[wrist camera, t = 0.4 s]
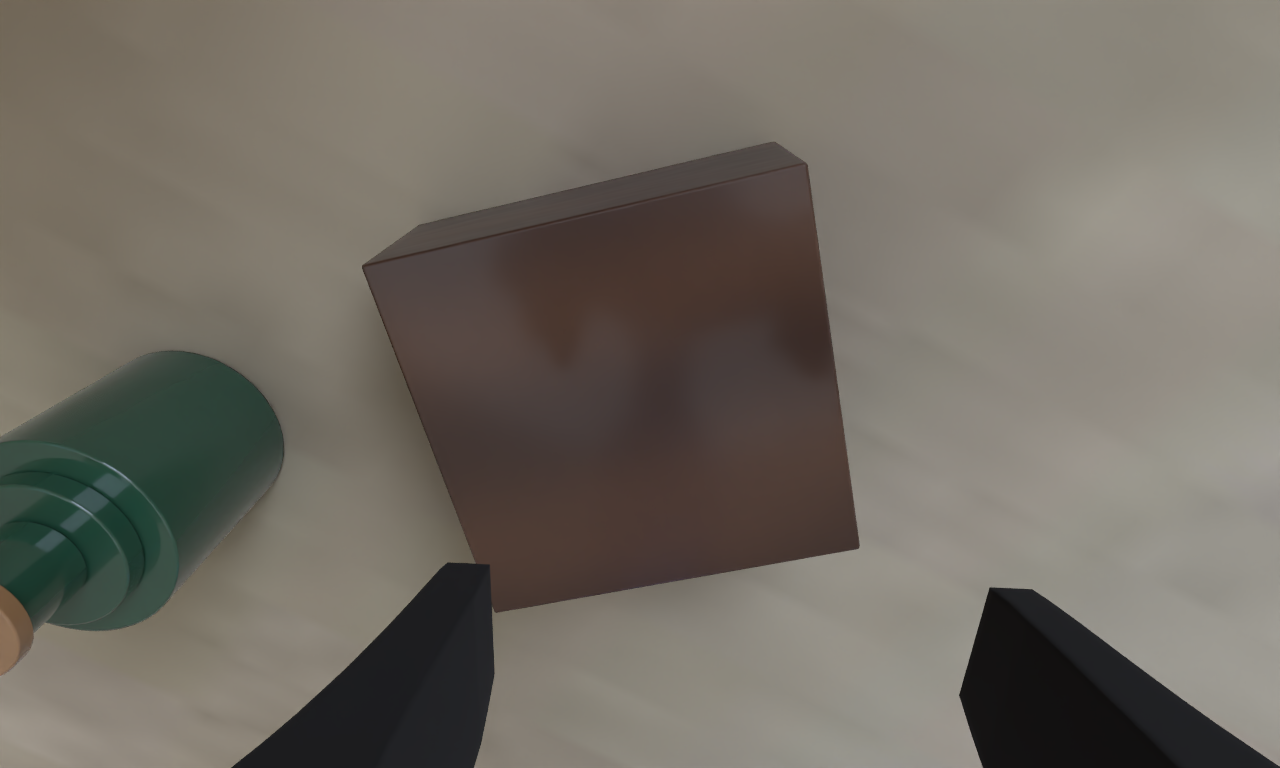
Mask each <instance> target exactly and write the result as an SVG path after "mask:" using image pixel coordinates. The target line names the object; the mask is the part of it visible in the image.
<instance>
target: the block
mask: <svg viewBox="0 0 1280 768" xmlns="http://www.w3.org/2000/svg"><path fill="white" fill-rule="evenodd" d="M362 269H363V272H364V274H365V277H366V279H367V282H368V285H369V287H370V290H371V292H372V295H373V297H374V300H375V303H376V305H377V308H378V310H379V313H380V316H381V318H382V321H383V323H384V326H385V329H386V331H387V334H388V336H389V339H390V342H391V344H392V347H393V349H394V352H395V355H396V357H397V360H398V362H399V365H400V368H401V370H402V373H403V375H404V378H405V381H406V383H407V386H408V388H409V391H410V393H411V396H412V399H413V401H414V404H415V406H416V409H417V412H418V414H419V417H420V419H421V422H422V425H423V427H424V430H425V432H426V435H427V438H428V440H429V443H430V445H431V448H432V451H433V453H434V456H435V458H436V461H437V464H438V466H439V469H440V471H441V474H442V477H443V479H444V482H445V484H446V487H447V489H448V492H449V495H450V497H451V500H452V502H453V505H454V508H455V510H456V513H457V515H458V518H459V521H460V523H461V526H462V528H463V531H464V534H465V536H466V539H467V541H468V544H469V547H470V549H471V552H472V554H473V557H474V560H475V562H476V564H490V578H491V602H492V606H493V609H494V611H495V612H496V613H498V612H503V611H509V610H515V609H520V608H526V607H532V606H537V605H543V604H549V603H554V602H560V601H566V600H571V599H577V598H583V597H588V596H594V595H600V594H605V593H611V592H617V591H622V590H628V589H634V588H639V587H645V586H650V585H656V584H662V583H667V582H673V581H679V580H684V579H690V578H696V577H701V576H707V575H713V574H718V573H724V572H730V571H735V570H741V569H747V568H752V567H758V566H764V565H769V564H775V563H781V562H786V561H792V560H798V559H803V558H809V557H815V556H820V555H826V554H832V553H837V552H843V551H849V550H854V549H858V548H859V546H860V544H859V537H858V530H857V522H856V515H855V508H854V501H853V493H852V486H851V479H850V471H849V464H848V457H847V449H846V442H845V435H844V428H843V420H842V413H841V406H840V398H839V391H838V384H837V376H836V369H835V362H834V355H833V347H832V340H831V333H830V325H829V318H828V311H827V303H826V296H825V289H824V282H823V274H822V267H821V260H820V252H819V245H818V238H817V230H816V223H815V216H814V208H813V201H812V194H811V187H810V179H809V172H808V165H807V164H806V163H805V162H804V161H802V160H801V159H800V158H798V157H797V156H795V155H794V154H792V153H791V152H789V151H788V150H786V149H785V148H783V147H782V146H780V145H779V144H777V143H776V142H770V143H766V144H761V145H757V146H753V147H749V148H744V149H740V150H736V151H732V152H727V153H723V154H719V155H715V156H710V157H706V158H702V159H698V160H693V161H689V162H685V163H680V164H676V165H672V166H668V167H663V168H659V169H655V170H651V171H646V172H642V173H638V174H634V175H629V176H625V177H621V178H617V179H612V180H608V181H604V182H600V183H595V184H591V185H587V186H583V187H578V188H574V189H570V190H566V191H561V192H557V193H553V194H549V195H544V196H540V197H536V198H532V199H527V200H523V201H519V202H515V203H510V204H506V205H502V206H498V207H493V208H489V209H485V210H481V211H476V212H472V213H468V214H464V215H459V216H455V217H451V218H447V219H442V220H438V221H434V222H430V223H425V224H421V225H418V226H417V227H416V228H414V229H413V230H411V231H410V232H409V233H407V234H406V235H404V236H403V237H402V238H400V239H399V240H397V241H396V242H395V243H393V244H392V245H390V246H389V247H388V248H386V249H385V250H383V251H382V252H381V253H379V254H378V255H376V256H375V257H374V258H372V259H371V260H369V261H368V262H367V263H365V264H364V265H362Z"/></svg>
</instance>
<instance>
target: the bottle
mask: <svg viewBox="0 0 1280 768" xmlns="http://www.w3.org/2000/svg"><path fill="white" fill-rule="evenodd" d="M282 460H283V437H282V432H281V428H280V425H279V422H278V420H277V418H276V415H275V413H274V411H273V410H272V408H271V406H270V405H269V403H268V402H267V400H266V399H265V398H264V396H263V395H262V394H261V393H260V392H259V390H258V389H257V388H256V387H255V386H254V385H253V384H252V383H251V382H249V381H248V380H247V379H246V378H245V377H243V376H242V375H241V374H239V373H238V372H236V371H235V370H233V369H232V368H230V367H228V366H226V365H224V364H223V363H221V362H218V361H216V360H214V359H211V358H209V357H205V356H202V355H199V354H195V353H189V352H182V351H161V352H155V353H150V354H146V355H143V356H140V357H138V358H136V359H134V360H132V361H130V362H128V363H127V364H125V365H123V366H121V367H120V368H118V369H116V370H115V371H113V372H111V373H109V374H108V375H106V376H104V377H102V378H101V379H99V380H97V381H96V382H94V383H92V384H90V385H89V386H87V387H85V388H83V389H82V390H80V391H78V392H77V393H75V394H73V395H71V396H70V397H68V398H66V399H65V400H63V401H61V402H59V403H58V404H56V405H54V406H52V407H51V408H49V409H47V410H46V411H44V412H42V413H40V414H39V415H37V416H35V417H33V418H32V419H30V420H28V421H27V422H25V423H23V424H21V425H20V426H18V427H16V428H15V429H13V430H11V431H9V432H8V433H6V434H4V435H2V436H1V437H0V676H1V675H3V674H5V673H7V672H8V671H10V670H11V669H12V668H13V667H14V666H15V665H16V664H17V663H18V662H19V661H20V660H21V659H22V658H23V657H25V656H26V655H27V653H28V652H29V650H30V648H31V646H32V643H33V639H34V633H35V632H36V631H37V630H38V629H39V628H40V627H41V626H42V625H43V624H44V623H50V624H53V625H57V626H61V627H65V628H70V629H76V630H85V631H108V630H115V629H121V628H125V627H128V626H132V625H135V624H137V623H139V622H141V621H144V620H146V619H148V618H149V617H151V616H152V615H154V614H155V613H157V612H158V611H159V610H160V609H161V608H162V607H163V606H164V605H165V604H166V603H167V602H168V601H169V600H170V598H171V597H172V596H173V595H174V594H175V593H176V592H177V591H178V589H179V588H180V587H181V586H182V585H183V584H184V583H185V582H186V580H187V579H188V578H189V577H190V576H191V575H192V574H193V573H194V572H195V570H196V569H197V568H198V567H199V566H200V565H201V564H202V563H203V561H204V560H205V559H206V558H207V557H208V556H209V555H210V554H211V552H212V551H213V550H214V549H215V548H216V547H217V546H218V545H219V543H220V542H221V541H222V540H223V539H224V538H225V537H226V536H227V535H228V533H229V532H230V531H231V530H232V529H233V528H234V527H235V526H236V524H237V523H238V522H239V521H240V520H241V519H242V518H243V517H244V515H245V514H246V513H247V512H248V511H249V510H250V509H251V508H252V507H253V505H254V504H255V503H256V502H257V501H258V500H259V499H260V498H261V496H262V495H263V494H264V493H265V492H266V491H267V490H268V489H269V487H270V486H271V485H272V483H273V482H274V481H275V479H276V477H277V475H278V473H279V471H280V468H281V465H282Z"/></svg>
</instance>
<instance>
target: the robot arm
mask: <svg viewBox="0 0 1280 768" xmlns="http://www.w3.org/2000/svg"><path fill="white" fill-rule="evenodd" d="M493 679H494V650H493V626H492V602H491V578H490V564H469V563H447V564H445V565H444V566H443V567H442V568H441V569H440V570H439V571H438V572H437V573H436V574H435V575H434V576H433V577H432V579H431V580H430V581H429V582H428V583H427V584H426V585H425V586H424V587H423V589H422V590H421V591H420V592H419V593H418V594H417V595H416V596H415V597H414V599H413V600H412V601H411V602H410V603H409V604H408V605H407V606H406V607H405V608H404V609H403V610H402V611H401V613H400V614H399V615H398V616H397V617H396V618H395V619H394V620H393V621H392V622H391V623H390V624H389V625H388V626H387V627H386V628H385V629H384V631H383V632H382V633H381V634H380V635H379V636H378V637H377V638H376V639H375V640H374V641H373V642H372V643H371V644H370V645H369V646H368V647H367V648H366V649H365V650H364V651H363V652H362V653H361V654H360V655H359V656H358V657H357V658H356V659H355V660H354V661H353V662H352V663H351V664H350V665H349V666H348V667H347V668H346V669H345V670H344V671H343V672H342V673H340V674H339V675H338V676H337V677H336V678H335V679H334V680H333V681H332V682H331V683H330V684H328V685H327V686H326V687H325V688H324V689H323V690H322V691H321V692H320V693H319V694H318V695H317V696H315V697H314V698H313V699H312V700H311V701H310V702H309V703H308V704H307V705H306V706H305V707H303V708H302V709H301V710H300V711H299V712H298V713H297V714H296V715H295V716H293V717H292V718H291V719H290V720H289V721H288V722H286V723H285V724H284V725H283V726H282V727H281V728H279V729H278V730H277V731H276V732H275V733H274V734H272V735H271V736H270V737H269V738H268V739H266V740H265V741H264V742H263V743H261V744H260V745H259V746H258V747H257V748H255V749H254V750H253V751H252V752H250V753H249V754H248V755H246V756H245V757H244V758H243V759H241V760H240V761H239V762H238V763H236V764H235V765H234V766H233V767H231V768H474V765H475V762H476V759H477V755H478V752H479V749H480V745H481V741H482V736H483V731H484V726H485V721H486V716H487V712H488V706H489V701H490V695H491V690H492V685H493ZM959 696H960V699H961V702H962V705H963V709H964V712H965V715H966V718H967V722H968V725H969V728H970V731H971V734H972V737H973V740H974V743H975V746H976V749H977V752H978V755H979V758H980V760H981V763H982V766H983V768H1280V767H1279V766H1278V765H1276V764H1275V763H1273V762H1272V761H1270V760H1269V759H1267V758H1266V757H1264V756H1263V755H1261V754H1260V753H1259V752H1257V751H1256V750H1254V749H1253V748H1251V747H1250V746H1248V745H1247V744H1245V743H1244V742H1242V741H1241V740H1239V739H1238V738H1237V737H1235V736H1234V735H1232V734H1231V733H1229V732H1228V731H1226V730H1225V729H1223V728H1222V727H1220V726H1219V725H1217V724H1216V723H1215V722H1213V721H1212V720H1210V719H1209V718H1208V717H1206V716H1205V715H1203V714H1202V713H1201V712H1199V711H1198V710H1196V709H1195V708H1194V707H1192V706H1191V705H1189V704H1188V703H1187V702H1185V701H1184V700H1182V699H1181V698H1180V697H1178V696H1177V695H1176V694H1174V693H1173V692H1171V691H1170V690H1169V689H1167V688H1166V687H1165V686H1163V685H1162V684H1161V683H1159V682H1158V681H1156V680H1155V679H1154V678H1152V677H1151V676H1150V675H1148V674H1147V673H1146V672H1144V671H1143V670H1142V669H1140V668H1139V667H1138V666H1136V665H1135V664H1134V663H1132V662H1131V661H1130V660H1128V659H1127V658H1126V657H1124V656H1123V655H1122V654H1120V653H1119V652H1118V651H1116V650H1115V649H1114V648H1112V647H1111V646H1110V645H1108V644H1107V643H1106V642H1104V641H1103V640H1102V639H1100V638H1099V637H1098V636H1096V635H1095V634H1094V633H1092V632H1091V631H1090V630H1088V629H1087V628H1086V627H1084V626H1083V625H1082V624H1080V623H1079V622H1078V621H1076V620H1075V619H1074V618H1072V617H1071V616H1070V615H1068V614H1067V613H1066V612H1064V611H1063V610H1061V609H1060V608H1059V607H1057V606H1056V605H1054V604H1053V603H1052V602H1050V601H1049V600H1047V599H1046V598H1044V597H1043V596H1041V595H1040V594H1038V593H1037V592H1035V591H1034V590H1032V589H1012V588H989V592H988V595H987V599H986V603H985V606H984V610H983V613H982V617H981V620H980V624H979V627H978V631H977V634H976V638H975V641H974V645H973V648H972V652H971V656H970V659H969V663H968V666H967V670H966V673H965V677H964V680H963V684H962V687H961V691H960V694H959Z"/></svg>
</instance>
